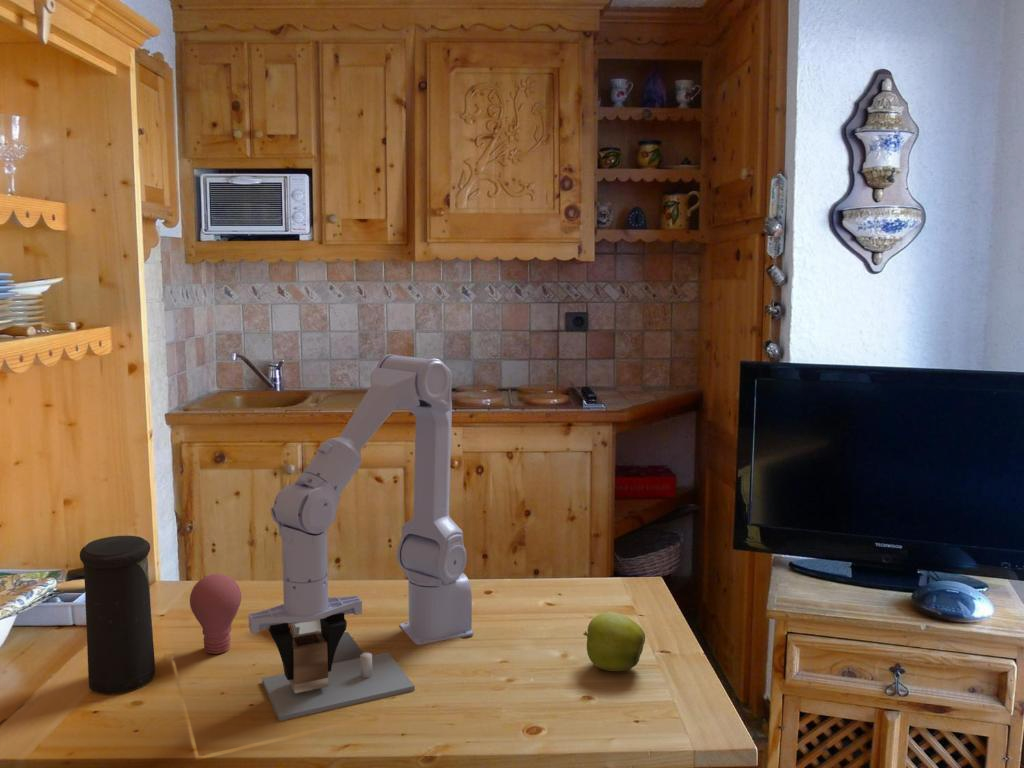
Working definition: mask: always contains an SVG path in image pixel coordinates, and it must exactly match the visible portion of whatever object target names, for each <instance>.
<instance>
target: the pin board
mask: <svg viewBox="0 0 1024 768" xmlns="http://www.w3.org/2000/svg"><path fill="white" fill-rule="evenodd" d="M261 679H262V680H261V683H262V685H263V687H264V689H265V692H266V694H267V696H268V699H269V701H270V704H271V705H272V707H273V710H274V713H275V714H276V718H278V721H279V722H283V721H286V720H287V721H288V720H291V719H296V718H300V717H305V716H308V715H309V716H310V715H314V714H318V713H322V712H326V711H331V710H335V709H340V708H343V707H344V708H345V707H348V706H352V705H357V704H362V703H365V702H370V701H374V700H380V699H384V698H388V697H393V696H396V695H401V694H405V693H409V692H413V691H415V690H416V689H415V687H416V686H415V684H414V683H413V681H412V680H411V679H410V678H409V677H408V676H407V674H406V673H405V672H404V671H403V669H402V668H401V666H400V665H399V664H398V662H396V660H395V659H394V658H393V657H392V655H391V654H390V653H389V652H383V653H378V654H374V655H373V654H372V653H371V652H363V653H362V654H361V655H360V658H358V659H353V660H348V661H343V662H338V663H333V664H332V668H331V672H328V687H323V688H318V689H314V690H309V691H304V692H300V693H295V692H294V691H293V689H292V687H291V685H290V683H289V681H288V680H287V678H286V676H285V673H279V674H275V675H270V676H267V677H266V676H265V677H262V678H261Z"/></svg>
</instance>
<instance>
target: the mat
mask: <svg viewBox="0 0 1024 768" xmlns="http://www.w3.org/2000/svg"><path fill="white" fill-rule="evenodd" d="M362 653H364V652H363V651H362V649H361V648H360V647H359V645H358V644H357V642H356V641H355V640H354V638H353V637H352V636H351V635H350V633H349V631H345V632H344V633H343V635H342V637H341V639H340V641H339V643H338V646H337V649H336V652H335V655H334V658H333V663H338V662H343V661H348V660H353V659H358V658H360V655H361V654H362ZM333 663H332V664H333Z"/></svg>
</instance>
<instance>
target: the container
mask: <svg viewBox="0 0 1024 768" xmlns="http://www.w3.org/2000/svg"><path fill="white" fill-rule="evenodd" d="M150 550H151V544H150V542H149V541H148V540H146V539H145V538H143V537H141V536H137V535H115V536H114V535H113V536H106V537H102V538H99V539H95V540H92V541H90V542H88V543H87V544H86V545H84V546H83V547H82V549H80V551H79V560H80V561H81V563H82V564H83V575H84V576H83V578H84V596H85V597H84V598H85V601H84V602H85V621H86V622H85V623H86V646H87V647H86V649H87V675H88V676H87V677H88V687H89V689H90V690H91V691H92V692H94V693H97V694H99V695H120V694H124V693H129V692H131V691H134V690H137V689H139V688H142V687H144V686H145V685H147V684H149V682H151V681H152V680H153V678H154V677H155V675H156V664H155V663H156V659H155V646H154V634H153V633H154V631H153V619H152V607H151V605H152V604H151V593H150V592H151V591H150V577H149V562H148V561H149V560H148V556H149V553H150V552H151V551H150Z"/></svg>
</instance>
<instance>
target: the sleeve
mask: <svg viewBox="0 0 1024 768" xmlns="http://www.w3.org/2000/svg"><path fill="white" fill-rule="evenodd" d="M292 636H293V646H292V663H293V680H288V681H289V683H290V685H291V687H292V689H293V691H294V692H295V693H300V692H304V691H309V690H314V689H318V688H323V687H328V654H327V642H326V641H325V639H324V638H323V636H322V634H321V633H320V632H319V631H315V632H310V633H304V634H299V635H294V634H293V635H292Z"/></svg>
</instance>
